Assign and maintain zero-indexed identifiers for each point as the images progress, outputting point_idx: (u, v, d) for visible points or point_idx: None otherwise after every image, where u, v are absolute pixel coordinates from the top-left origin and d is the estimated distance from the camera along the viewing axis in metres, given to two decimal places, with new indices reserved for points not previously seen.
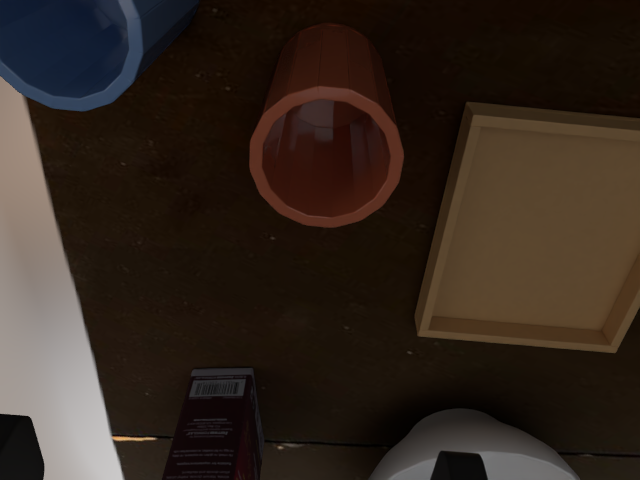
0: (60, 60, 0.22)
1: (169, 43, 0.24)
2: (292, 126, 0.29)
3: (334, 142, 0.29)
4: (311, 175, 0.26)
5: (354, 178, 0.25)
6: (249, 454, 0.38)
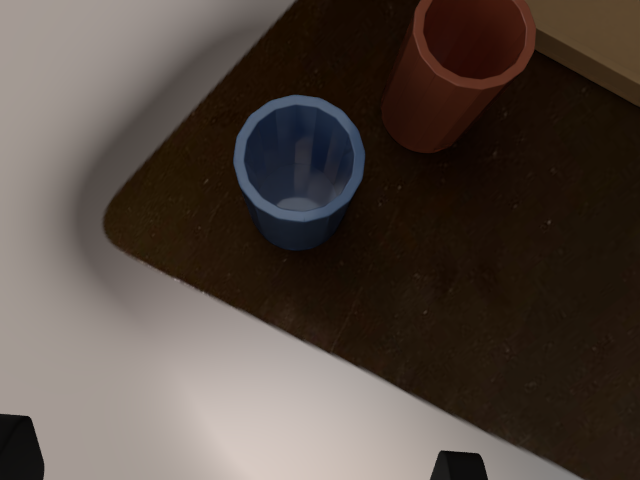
0: None
1: None
2: None
3: None
4: None
5: (503, 54, 0.29)
6: None
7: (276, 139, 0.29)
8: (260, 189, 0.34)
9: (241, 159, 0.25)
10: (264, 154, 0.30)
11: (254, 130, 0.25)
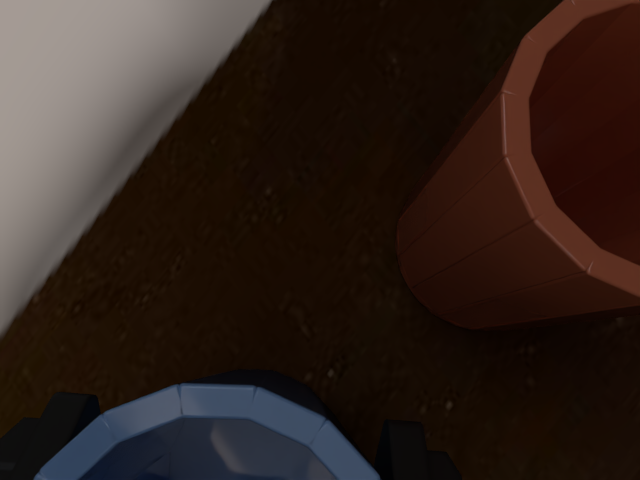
0: None
1: None
2: None
3: None
4: None
5: None
6: None
7: None
8: (173, 449, 0.17)
9: None
10: (151, 440, 0.13)
11: None
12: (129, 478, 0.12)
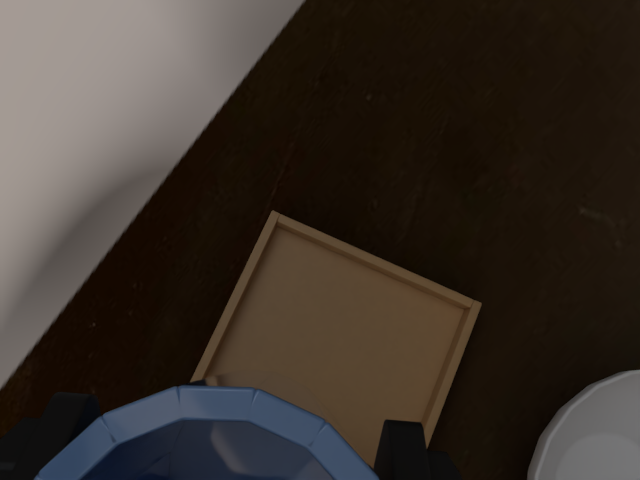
0: None
1: (344, 430, 0.13)
2: None
3: None
4: None
5: None
6: None
7: None
8: (173, 450, 0.17)
9: None
10: (151, 441, 0.13)
11: None
12: (129, 479, 0.12)
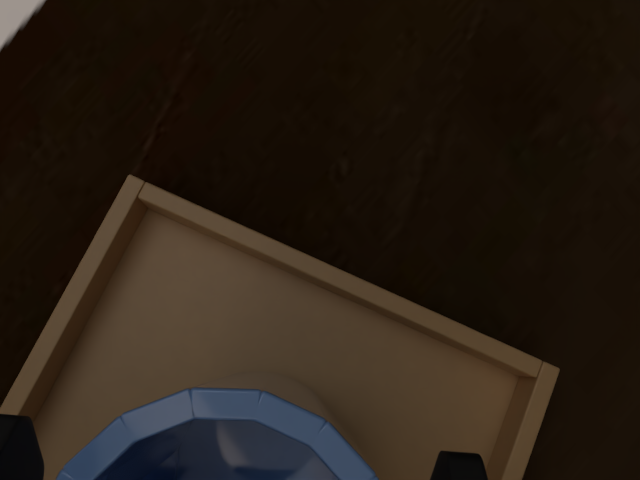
0: None
1: (344, 429, 0.14)
2: None
3: None
4: None
5: None
6: None
7: None
8: (181, 448, 0.18)
9: None
10: (162, 439, 0.13)
11: None
12: (141, 475, 0.13)
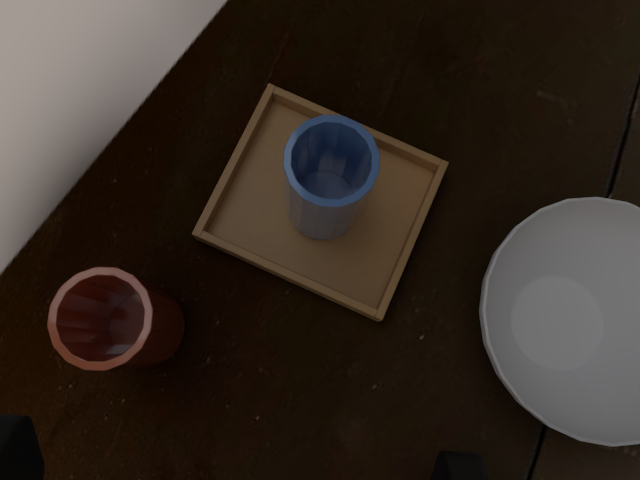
0: None
1: None
2: None
3: None
4: None
5: None
6: None
7: (307, 151, 0.38)
8: None
9: (288, 165, 0.34)
10: (298, 163, 0.39)
11: (296, 143, 0.34)
12: None
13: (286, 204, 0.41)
